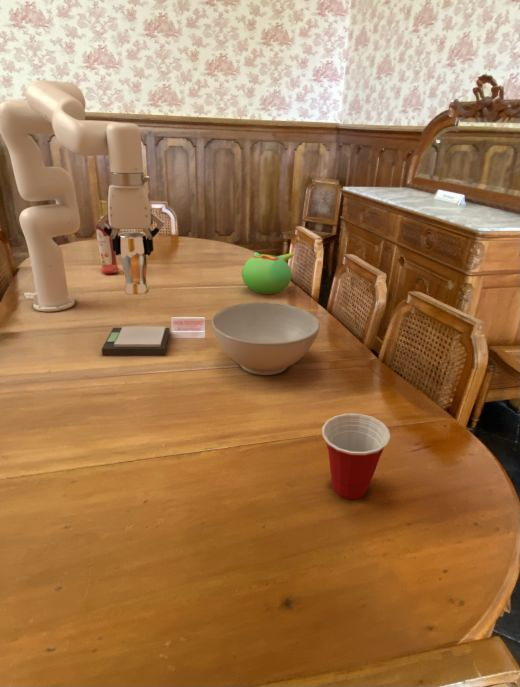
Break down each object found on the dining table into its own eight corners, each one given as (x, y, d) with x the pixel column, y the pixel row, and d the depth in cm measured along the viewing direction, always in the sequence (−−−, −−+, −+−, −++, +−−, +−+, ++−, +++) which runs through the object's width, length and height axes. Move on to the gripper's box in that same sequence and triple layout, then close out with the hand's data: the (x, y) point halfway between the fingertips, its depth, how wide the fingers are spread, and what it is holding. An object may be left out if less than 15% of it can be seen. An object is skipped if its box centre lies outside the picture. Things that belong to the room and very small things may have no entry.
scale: (102, 355, 123) (101, 345, 122) (113, 333, 135) (112, 324, 134) (164, 355, 124) (163, 345, 123) (170, 333, 137) (169, 325, 135)
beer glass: (143, 297, 120) (139, 238, 113) (118, 294, 121) (112, 236, 114) (154, 288, 126) (151, 232, 119) (130, 286, 127) (125, 230, 121)
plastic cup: (310, 467, 85) (316, 411, 80) (369, 465, 86) (378, 410, 81) (323, 512, 75) (330, 452, 70) (388, 509, 76) (400, 450, 71)
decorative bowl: (325, 351, 129) (329, 310, 124) (301, 399, 106) (305, 351, 101) (235, 335, 137) (235, 296, 131) (193, 377, 114) (192, 331, 108)
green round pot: (234, 295, 169) (235, 255, 163) (252, 282, 183) (253, 245, 177) (281, 302, 163) (283, 261, 157) (296, 289, 177) (299, 250, 171)
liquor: (123, 272, 190) (117, 201, 178) (109, 277, 184) (101, 203, 172) (111, 269, 193) (103, 199, 181) (96, 273, 187) (88, 201, 176)
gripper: (166, 179, 116) (170, 250, 123) (94, 177, 114) (102, 250, 122) (162, 182, 109) (166, 258, 116) (85, 181, 107) (95, 257, 115)
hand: (133, 253), depth 119 cm, fingers closed on beer glass, 7 cm apart
